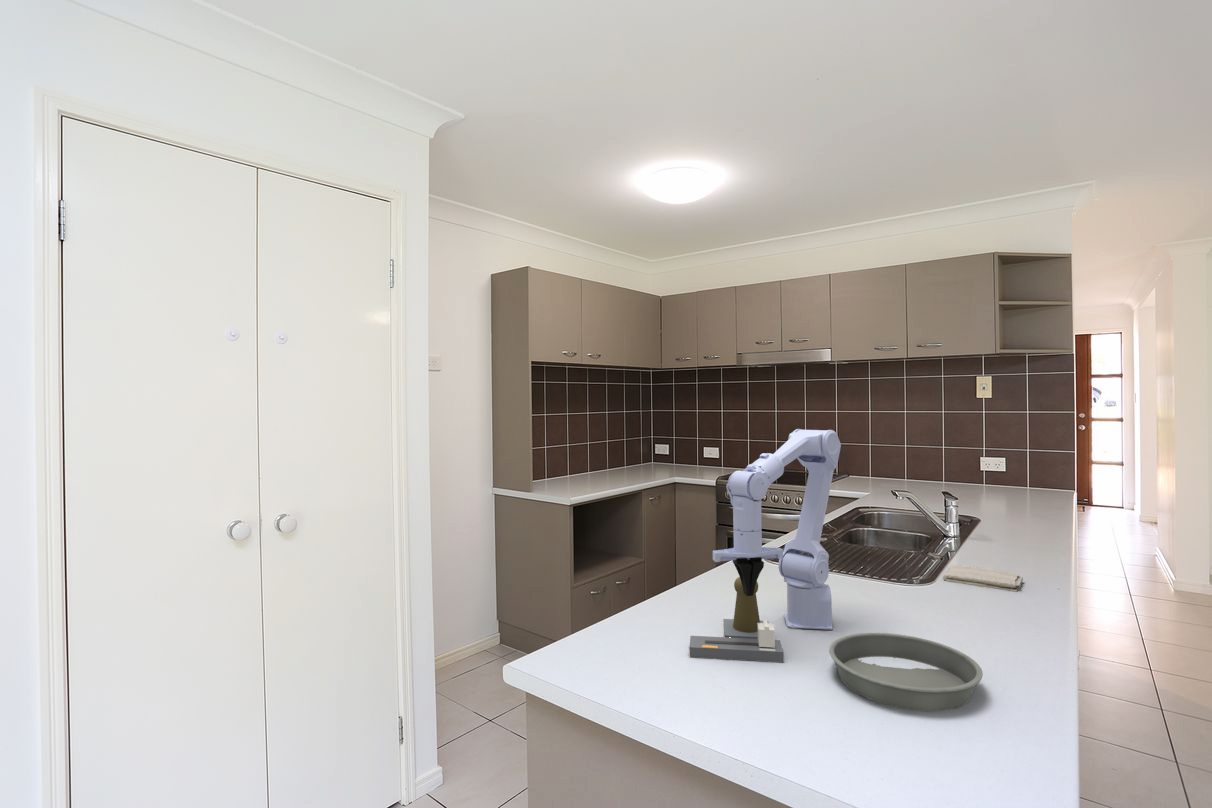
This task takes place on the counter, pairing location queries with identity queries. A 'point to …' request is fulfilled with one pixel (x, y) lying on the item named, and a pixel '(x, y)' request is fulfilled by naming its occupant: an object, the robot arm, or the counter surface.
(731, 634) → the slate mat
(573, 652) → the counter surface
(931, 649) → the cake pan
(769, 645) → the switch tab
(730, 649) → the switch bar
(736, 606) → the cork
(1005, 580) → the washcloth
